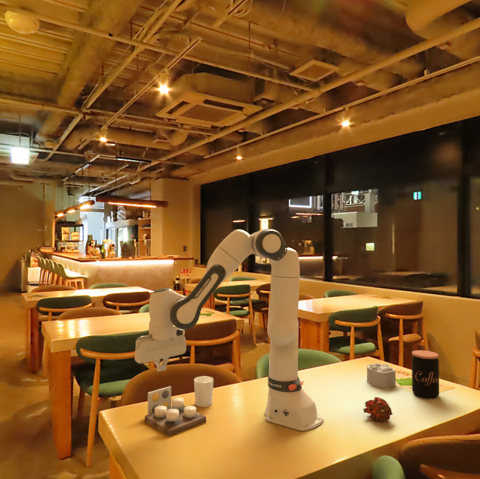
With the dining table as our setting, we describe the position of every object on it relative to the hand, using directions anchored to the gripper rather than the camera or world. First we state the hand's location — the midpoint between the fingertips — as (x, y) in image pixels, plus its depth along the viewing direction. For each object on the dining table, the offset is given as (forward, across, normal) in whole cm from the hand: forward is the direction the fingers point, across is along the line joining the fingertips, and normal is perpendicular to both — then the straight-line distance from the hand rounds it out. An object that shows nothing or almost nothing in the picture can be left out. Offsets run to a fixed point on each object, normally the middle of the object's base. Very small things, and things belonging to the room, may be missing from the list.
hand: (161, 370), depth 145 cm
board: (+19, +4, -4) cm, 19 cm away
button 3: (+15, +8, 0) cm, 17 cm away
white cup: (+19, +22, +2) cm, 29 cm away
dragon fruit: (+19, +60, -54) cm, 83 cm away
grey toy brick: (+20, +98, -36) cm, 106 cm away
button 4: (+16, 0, 0) cm, 16 cm away
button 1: (+16, +8, -8) cm, 19 cm away
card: (+19, +4, +7) cm, 20 cm away
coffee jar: (+20, +98, -57) cm, 115 cm away
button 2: (+15, 0, -8) cm, 17 cm away
